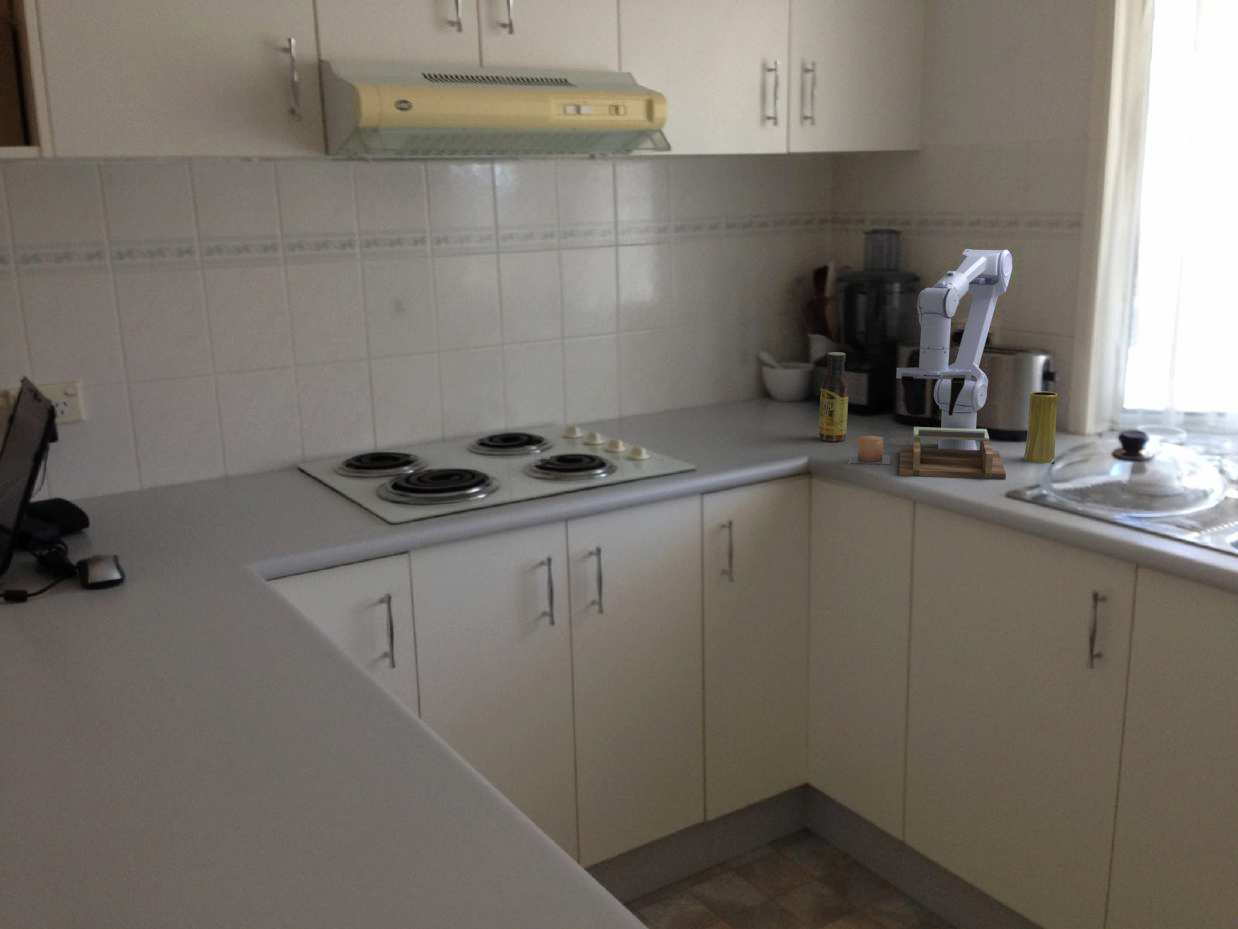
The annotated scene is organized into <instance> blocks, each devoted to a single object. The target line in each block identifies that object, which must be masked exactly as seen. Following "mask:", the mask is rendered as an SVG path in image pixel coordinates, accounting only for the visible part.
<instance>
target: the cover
mask: <svg viewBox="0 0 1238 929" xmlns="http://www.w3.org/2000/svg"><path fill="white" fill-rule="evenodd" d="M913 436H914V438H920V440H921V439H923V440H924V439H926V440H928V439H929V440H941V439H952V440H975V441H980V440H982V441H989V442H990V436H989V433H988V430H987V428H976V429H964V428H941V427H929V426H927V427H925V426H924V427H923V426H922V427H921V426H913Z"/></svg>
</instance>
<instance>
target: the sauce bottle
mask: <svg viewBox="0 0 1238 929" xmlns="http://www.w3.org/2000/svg"><path fill="white" fill-rule="evenodd" d="M826 360H827V369H826V373H825V376H824V379H823V382H822V384H821V387H820V399H819V413H818V414H819V416H818V417H819V418H818V437H819V439H820V440H821V441H825V442H830V443H831V442H843V441H845V440H846V437H847V436H846V434H847V429H848V428H847V426H848V425H847V424H848V411H849V410H848V409H849V407H848V406H849V389H850V388H849V386H850V385H849V383H850V382H849V381H848V380H847V377H846V375H845V362H846V360H847V355H846V353H845V352H840V351H839V352H837V351H834V352H832V351H831V352H828V353H827V357H826Z"/></svg>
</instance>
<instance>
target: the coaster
mask: <svg viewBox="0 0 1238 929" xmlns="http://www.w3.org/2000/svg"><path fill="white" fill-rule="evenodd" d="M850 457H851V458H850V459H849V460H850V461H849V464H850V465H871V466H873V465H874V466H890V465H891V455H890V454H883V458H882V461H879V462H864V461H860V460H858V453H851V456H850Z"/></svg>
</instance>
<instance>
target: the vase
mask: <svg viewBox="0 0 1238 929" xmlns="http://www.w3.org/2000/svg"><path fill="white" fill-rule="evenodd" d="M1057 410H1058V393H1056V392H1053V391H1041V390H1040V391H1039V390H1038V391H1032V392H1030V394H1029V408H1028V419H1027V420H1028V421H1027V422H1028V423H1027V432H1026V433H1027V434H1026V443H1025V449H1024V455H1023V460H1024V461H1025V462H1028V463H1029V462H1030V463H1035V464H1051V463H1050V462H1051V461H1052V459H1054V458H1055V453H1056V452H1055V448H1056V447H1055V446H1056V431H1057V430H1056V429H1057Z"/></svg>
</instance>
